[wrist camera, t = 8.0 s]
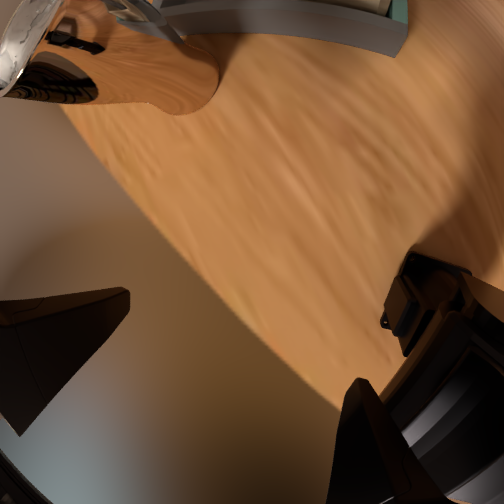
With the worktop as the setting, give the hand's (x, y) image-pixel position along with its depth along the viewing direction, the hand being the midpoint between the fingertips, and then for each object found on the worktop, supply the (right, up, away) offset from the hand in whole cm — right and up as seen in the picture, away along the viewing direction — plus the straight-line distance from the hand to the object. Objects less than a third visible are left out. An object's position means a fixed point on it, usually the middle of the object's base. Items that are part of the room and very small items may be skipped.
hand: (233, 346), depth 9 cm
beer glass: (-5, +17, +9) cm, 20 cm away
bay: (+3, +25, +4) cm, 25 cm away
